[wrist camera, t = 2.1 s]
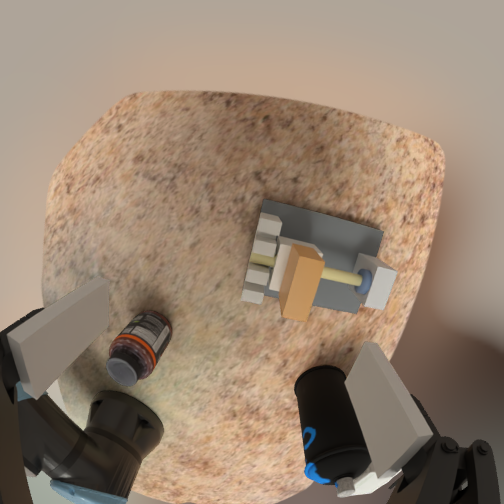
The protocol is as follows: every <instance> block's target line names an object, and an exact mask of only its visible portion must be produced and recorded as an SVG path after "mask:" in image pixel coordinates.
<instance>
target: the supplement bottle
mask: <svg viewBox="0 0 504 504" xmlns="http://www.w3.org/2000/svg"><path fill="white" fill-rule="evenodd" d="M171 336H172V330H171V327H170V324H169V322H168V321H167V320H166V318H165V317H163V316H162V315H161V314H159V313H157V312H155V311H143V312H141V313H139V314H138V315H137V316H136V317H135V318H134V319H133V320H132V321H131V322H130V323H129V324H128V325H127V326H126V327H125V328H124V330H123V331H122V332H121V333H120V334H119V335H118V336H117V337H116V338H115V340H114V341H113V342H112V344H111V346H110V349H109V356H110V358H109V360H108V361H107V363H106V369H107V371H108V373H109V375H110V376H111V378H112V379H114V380H115V381H116V382H117V383H119V384H121V385H124V386H132V385H134V384H136V382H137V381H138V380H140V379H145V378H147V377H148V376H149V375H150V374H151V373H152V371H153V370H154V368H155V366H156V365H157V363H158V361H159V359H160V357H161V356H162V354H163V352H164V350H165V349H166V347H167V345H168V343H169V341H170V339H171Z"/></svg>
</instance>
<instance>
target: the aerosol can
mask: <svg viewBox="0 0 504 504" xmlns="http://www.w3.org/2000/svg"><path fill="white" fill-rule="evenodd" d="M345 380H346V376H345V374H344V372H343V371H342V370H340V369H339V368H337V367H334V366H318V367H315V368H312V369H310V370H308V371H306V372H305V373H303V374H302V375H301V376H300V377H299V378H298V380H297V381H296V383H295V387H294V391H295V395H296V396H297V401H298V408H299V415H300V423H301V430H302V438H303V446H304V454H305V462H306V467H305V470H304V473H305V475H306V476H307V477H308V478H309V479H311V480H314V481H316V482H318V483H320V484H323V485H335V486H336V487H337V496H338V497H346V496H350V495H352V494H353V493H355V487H354V483H353V480H354V479H355V478H357V477H359V476H360V475H362V474H363V473H364V472H365V471H366V469H367V468H368V467H369V465H370V464H371V462H372V460H371V457H370V454H369V451H368V448H367V445H366V442H365V439H364V436H363V433H362V430H361V427H360V424H359V421H358V418H357V416H356V413H355V410H354V407H353V404H352V402H351V399H350V396H349V393H348V391H347V388H346V385H345V383H344V382H345Z"/></svg>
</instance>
